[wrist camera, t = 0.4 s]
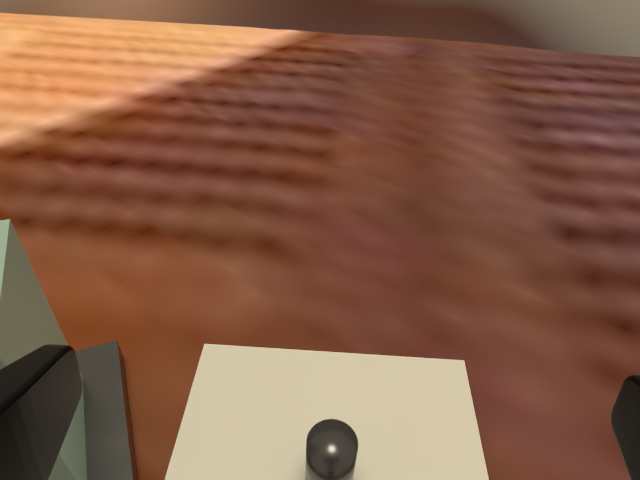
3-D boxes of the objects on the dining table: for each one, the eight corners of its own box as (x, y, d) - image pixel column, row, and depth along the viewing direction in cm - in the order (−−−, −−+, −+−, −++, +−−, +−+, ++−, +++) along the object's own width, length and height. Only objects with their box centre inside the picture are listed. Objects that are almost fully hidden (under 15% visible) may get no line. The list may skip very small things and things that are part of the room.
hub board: (525, 729, 17) (579, 703, 14) (114, 697, 17) (72, 664, 14) (458, 377, 27) (479, 316, 24) (207, 360, 28) (196, 299, 25)
